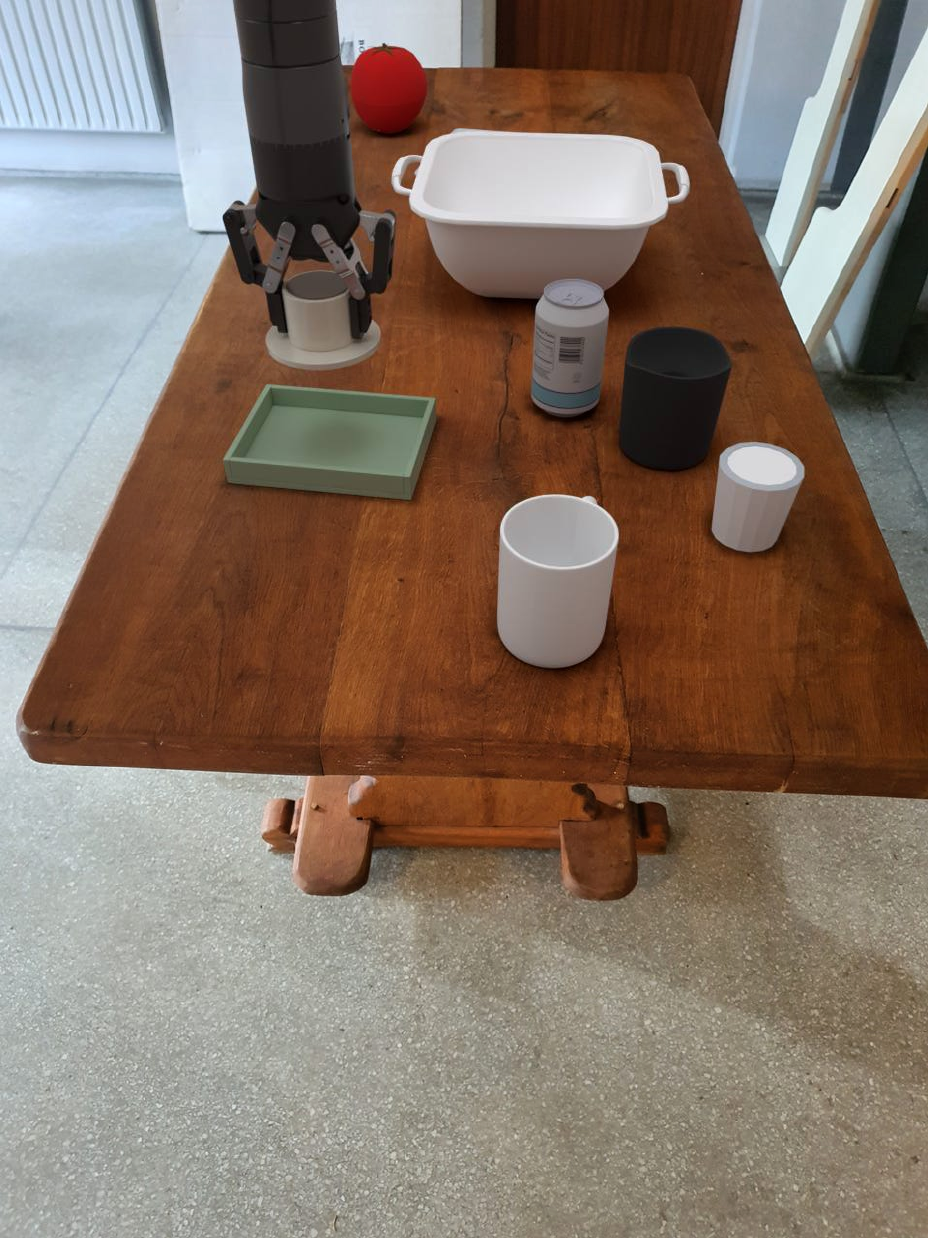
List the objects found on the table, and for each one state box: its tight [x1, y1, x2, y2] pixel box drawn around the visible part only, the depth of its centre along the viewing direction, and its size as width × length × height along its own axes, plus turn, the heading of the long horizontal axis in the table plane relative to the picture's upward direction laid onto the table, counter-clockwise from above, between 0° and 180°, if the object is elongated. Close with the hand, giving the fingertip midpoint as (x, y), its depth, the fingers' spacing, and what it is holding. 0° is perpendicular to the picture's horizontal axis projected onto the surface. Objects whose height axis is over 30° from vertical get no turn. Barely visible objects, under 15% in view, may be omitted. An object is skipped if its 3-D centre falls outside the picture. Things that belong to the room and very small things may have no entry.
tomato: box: [349, 42, 428, 135], centre depth 152 cm, size 12×12×13 cm
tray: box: [222, 383, 437, 501], centre depth 90 cm, size 17×13×3 cm
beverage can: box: [530, 279, 610, 418], centre depth 92 cm, size 7×7×12 cm
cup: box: [496, 494, 620, 669], centre depth 71 cm, size 8×12×10 cm
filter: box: [265, 269, 382, 372], centre depth 81 cm, size 10×10×5 cm
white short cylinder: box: [711, 441, 805, 553], centre depth 79 cm, size 7×7×7 cm
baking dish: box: [391, 131, 691, 300], centre depth 113 cm, size 34×28×13 cm
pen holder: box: [618, 325, 733, 471], centre depth 88 cm, size 9×9×10 cm
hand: (322, 331), depth 82 cm, fingers closed on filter, 6 cm apart
